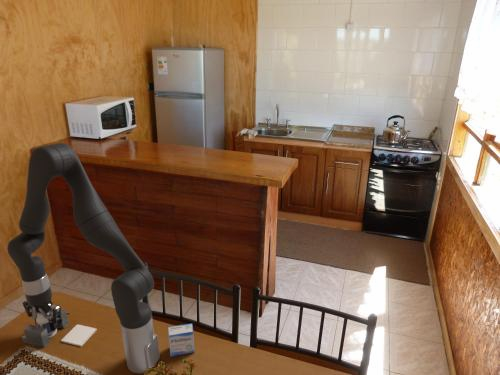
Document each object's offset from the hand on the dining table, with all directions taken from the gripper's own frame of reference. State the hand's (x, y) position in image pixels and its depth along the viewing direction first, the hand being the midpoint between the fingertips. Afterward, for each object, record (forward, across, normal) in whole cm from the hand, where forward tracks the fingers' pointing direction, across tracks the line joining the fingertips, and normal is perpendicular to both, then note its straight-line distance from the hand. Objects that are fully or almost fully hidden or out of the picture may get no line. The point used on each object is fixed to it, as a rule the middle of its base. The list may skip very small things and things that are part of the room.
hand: (47, 327), depth 130 cm
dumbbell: (+3, +1, -1) cm, 3 cm away
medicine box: (+3, -48, -6) cm, 48 cm away
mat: (+2, -11, -2) cm, 11 cm away
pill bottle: (+3, 0, 0) cm, 3 cm away
